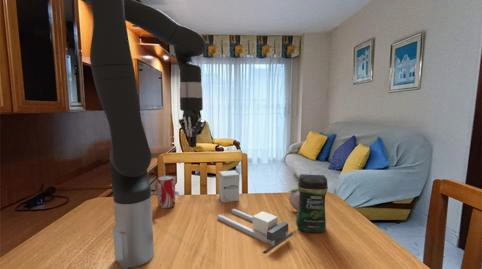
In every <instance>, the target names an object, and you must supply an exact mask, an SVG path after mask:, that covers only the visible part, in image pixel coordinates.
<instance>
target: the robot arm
mask: <svg viewBox="0 0 482 269" xmlns="http://www.w3.org/2000/svg"><path fill="white" fill-rule="evenodd" d="M80 1H82V2H84V3H85V4H88V5H89V6H91V12H92V21H93V23H92V24H93V25H92V26H93V27H92V34H91V39H90V40H91V41H90V50H89V61H90V68H91V73H92V77H93V82H94V87H95V90H96V93H97V95H98V99H99V102H100V104H101V106H102V109H103V111H104V115H105V116H106V119H107V121H108V126H109V131H110V136H111V137H110V138H111V139H110V140H111V148H110V150H109V169H110V181H111V189H112V196H113V209H114V222H115V223H114V224H115V226H113V227H112V234H113V235H112V236H113V249H114V260H115V261H116V263H117V264H118V265H119V266H120V267H121V268H122V269H129V268H136V267H139V266H143V265H145V264H147V263H148V262H149V261H151V260H152V259H153V258H154V255H155V249H154V248H155V245H154V229H153V228H154V227H153V226H154V224H153V208H152V205H153V204H152V191H151V190H152V188H151V184H150V181H149V176H148V169H149V167H150V166H151V162H152V152H151V147H150V145H149V142H148V138H147V137H146V136H147V135H146V133H145V129H144V124H143V121H142V114H141V107H140V99H139V98H140V97H139V91H138V84H137V83H138V82H137V78H136V72H135V66H134V60H133V57H132V52H131V47H130V39H129V35H128V34H129V33H128V29H127V22H128V23H130V24H132V25H134V26H136V27H137V28H140V29H142V30H143V31H145V32H146V33H148V34H150V35H151V36H153V37H155V38H156V39H158V40H159V41H161V42H162V43H165V44H166V45H169V46H173V50H174V55H175V59H176V63H177V65H178V69H179V82H180V83H179V107H180V108H179V110H180V111H182V112H183V113H182V117H181V119H179V118H178V123H179V125H180V128H181V130H182V131H183V134H184V135H186V136H187V140H188V142H187V143H188V144H187V145H188V147H189V148H196V147H197V145H198V143H197V142H198V141H197V136H200V135H201V134H202V132H203V130H204V128H205V126H206V124H207V122H206V120H203V119H202V114H201V111H203V108H204V106H203V85H202V69H201V66H200V65H199V64H197V63H195V64H194V61H193V59H192V58H194V57H195V58H196V57H200V56H201V55H203V54H204V53H205V51H206V49H207V45H206V44H207V42H206V41H205V39H204V37H203V36H202V35H201V34H200V33H199V32H197V31H195V30H194V29H192V28H189V27H187V26H185V25H182V24H179V23H178V22H176V21H175V20H174V19H172V17H170V16H168V15H167V14H166V13H165V12H163V11H162V10H159V9H158V8H157V7H154V6H151V5H148V4H146V3H142V2H139V1H138V0H80Z"/></svg>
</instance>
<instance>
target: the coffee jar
mask: <svg viewBox="0 0 482 269" xmlns="http://www.w3.org/2000/svg"><path fill="white" fill-rule="evenodd" d="M297 181H298V182H297V189H299V193H300V195H299V205H298V210H297V213H296V219H295V221H296V222H295V224H296V226H297V228H298V230H300V231H301V232H303V233H304V232H305V233H323V232H325V231H326V227H327V224H326V221H327V220H326V204H325V203H326V195H327V192H328V190H329V188H328V179H327V177H326V176H325V175H324V174H305V173H304V174H302V173H301V174H299V176H298V180H297Z"/></svg>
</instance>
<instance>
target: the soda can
mask: <svg viewBox="0 0 482 269" xmlns="http://www.w3.org/2000/svg"><path fill="white" fill-rule="evenodd" d="M157 178H158V180H157V181H156V191H157V192H156V194H157V205H158V207H159V208H162V209H170V208H172V207H174V206H175V205H176V182H175V179H174V176H173V175H161V176H159V177H157Z"/></svg>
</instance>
